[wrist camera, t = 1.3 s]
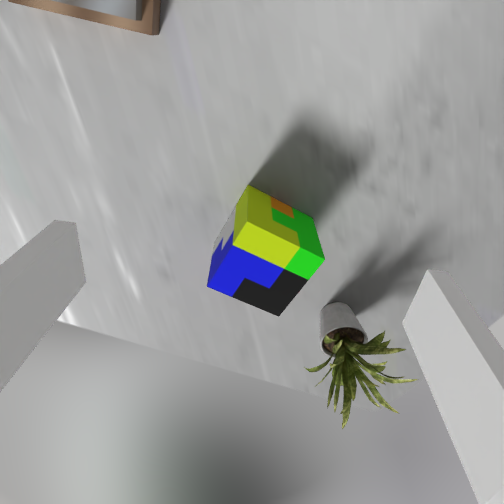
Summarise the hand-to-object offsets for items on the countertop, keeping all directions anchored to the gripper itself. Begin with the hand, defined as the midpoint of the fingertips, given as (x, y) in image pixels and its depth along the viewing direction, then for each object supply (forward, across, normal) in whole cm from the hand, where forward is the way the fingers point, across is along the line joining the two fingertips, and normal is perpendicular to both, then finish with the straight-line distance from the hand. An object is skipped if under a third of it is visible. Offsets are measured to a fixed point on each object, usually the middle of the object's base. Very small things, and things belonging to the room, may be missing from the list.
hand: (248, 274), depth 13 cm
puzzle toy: (+32, +1, -15) cm, 36 cm away
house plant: (+33, +16, -31) cm, 48 cm away
